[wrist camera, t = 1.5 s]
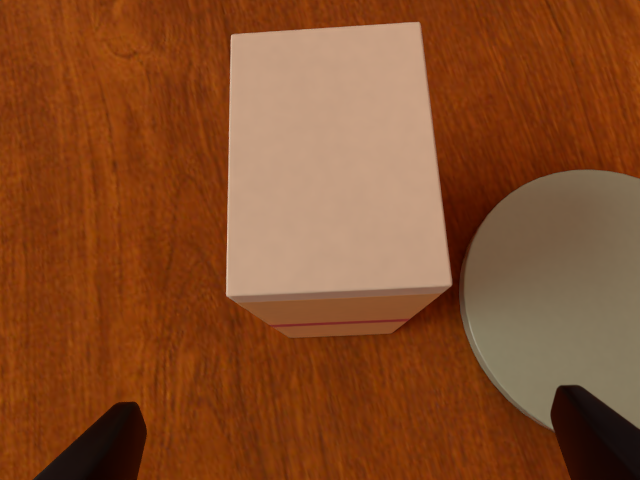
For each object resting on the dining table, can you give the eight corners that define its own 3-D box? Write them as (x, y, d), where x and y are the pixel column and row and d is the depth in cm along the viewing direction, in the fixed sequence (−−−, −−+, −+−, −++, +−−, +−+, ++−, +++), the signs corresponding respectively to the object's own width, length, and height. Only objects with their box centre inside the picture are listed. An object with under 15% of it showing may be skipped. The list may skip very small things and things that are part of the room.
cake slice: (392, 333, 22) (454, 286, 10) (288, 338, 22) (224, 297, 10) (381, 197, 24) (421, 20, 12) (285, 202, 24) (229, 32, 12)
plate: (751, 474, 20) (772, 479, 19) (446, 418, 21) (451, 420, 20) (729, 196, 23) (746, 188, 22) (469, 161, 24) (475, 153, 23)
